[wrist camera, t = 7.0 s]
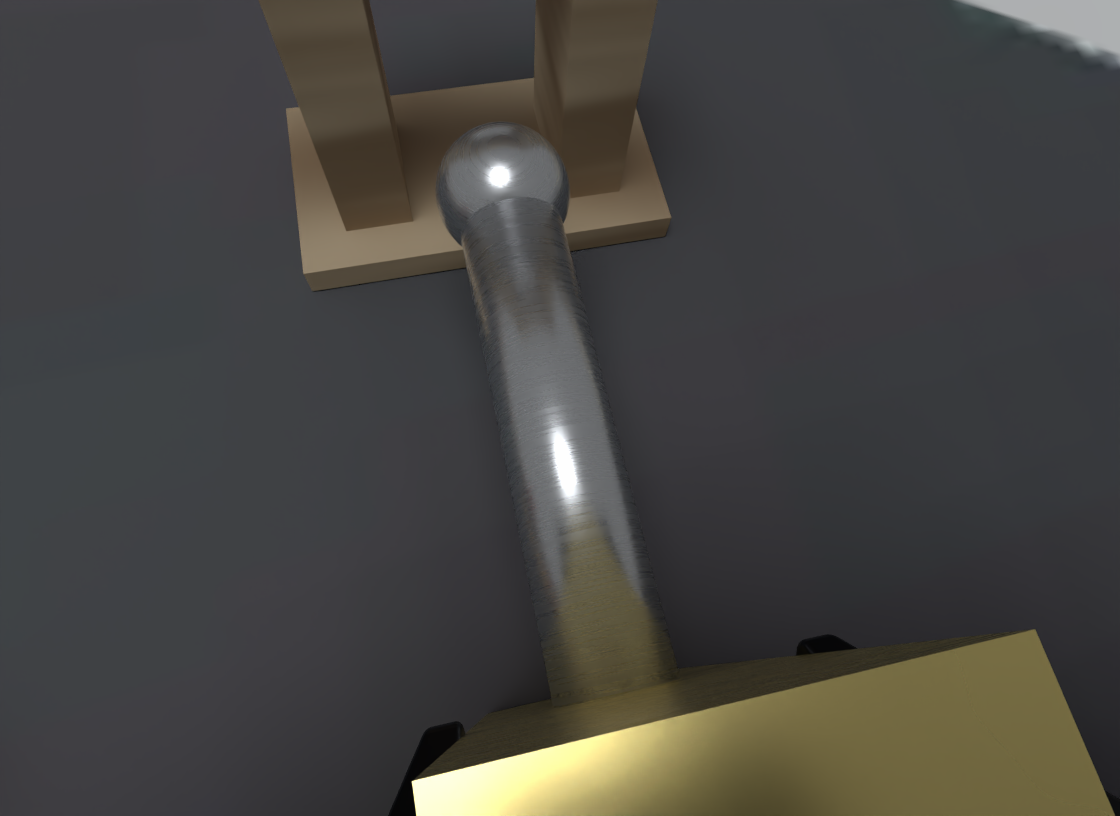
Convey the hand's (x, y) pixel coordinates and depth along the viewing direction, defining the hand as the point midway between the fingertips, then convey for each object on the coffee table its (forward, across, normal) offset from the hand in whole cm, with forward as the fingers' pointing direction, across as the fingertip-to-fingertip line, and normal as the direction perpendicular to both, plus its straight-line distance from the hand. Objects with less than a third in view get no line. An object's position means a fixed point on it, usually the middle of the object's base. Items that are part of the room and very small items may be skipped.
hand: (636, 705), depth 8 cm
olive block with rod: (+7, 0, +2) cm, 7 cm away
